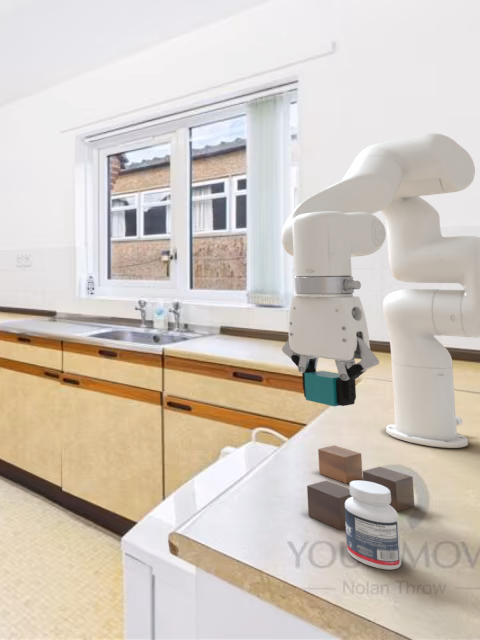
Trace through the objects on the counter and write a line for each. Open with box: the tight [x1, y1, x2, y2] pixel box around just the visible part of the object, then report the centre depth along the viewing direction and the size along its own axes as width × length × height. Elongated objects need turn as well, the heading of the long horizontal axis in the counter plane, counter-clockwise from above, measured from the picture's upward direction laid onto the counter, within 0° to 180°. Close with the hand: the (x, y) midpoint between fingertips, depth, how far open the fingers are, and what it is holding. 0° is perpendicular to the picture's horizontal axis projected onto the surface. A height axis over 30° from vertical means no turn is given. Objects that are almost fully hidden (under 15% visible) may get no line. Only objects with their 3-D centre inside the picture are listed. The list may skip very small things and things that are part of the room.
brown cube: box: [306, 480, 352, 531], centre depth 70 cm, size 4×4×4 cm
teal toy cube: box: [305, 370, 340, 407], centre depth 77 cm, size 4×4×4 cm
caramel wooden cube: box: [317, 444, 363, 484], centre depth 84 cm, size 4×4×4 cm
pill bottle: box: [345, 480, 402, 571], centre depth 60 cm, size 5×5×9 cm
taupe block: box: [362, 466, 415, 512], centre depth 75 cm, size 4×4×4 cm
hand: (328, 399), depth 77 cm, fingers closed on teal toy cube, 4 cm apart
